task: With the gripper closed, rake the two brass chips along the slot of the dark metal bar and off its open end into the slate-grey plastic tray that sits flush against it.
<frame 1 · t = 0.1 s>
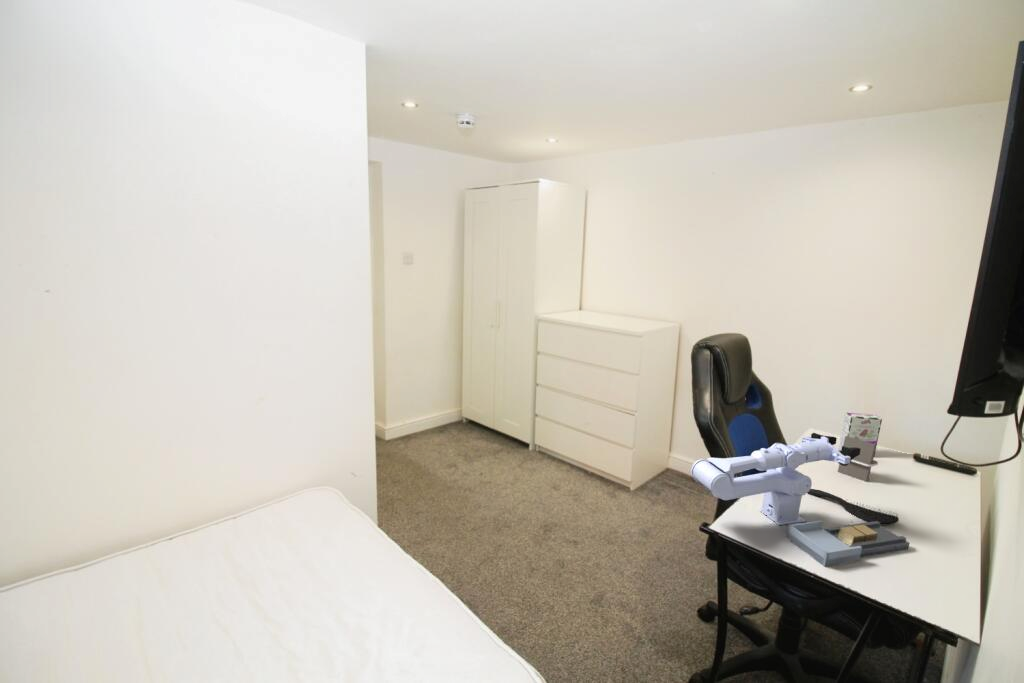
hand: (846, 445, 138), 22 cm above the table, tool horizontal, fingers open, 7 cm apart
hairbrush: (846, 509, 144), on the table
brass chip 2: (863, 535, 126), point 2 cm above the table, touching slotted bar
candy bar box: (855, 453, 185), on the table
brass chip 1: (850, 537, 125), point 2 cm above the table, touching slotted bar
slotted bar: (864, 542, 127), on the table
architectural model: (852, 476, 166), on the table
tray: (821, 548, 123), on the table
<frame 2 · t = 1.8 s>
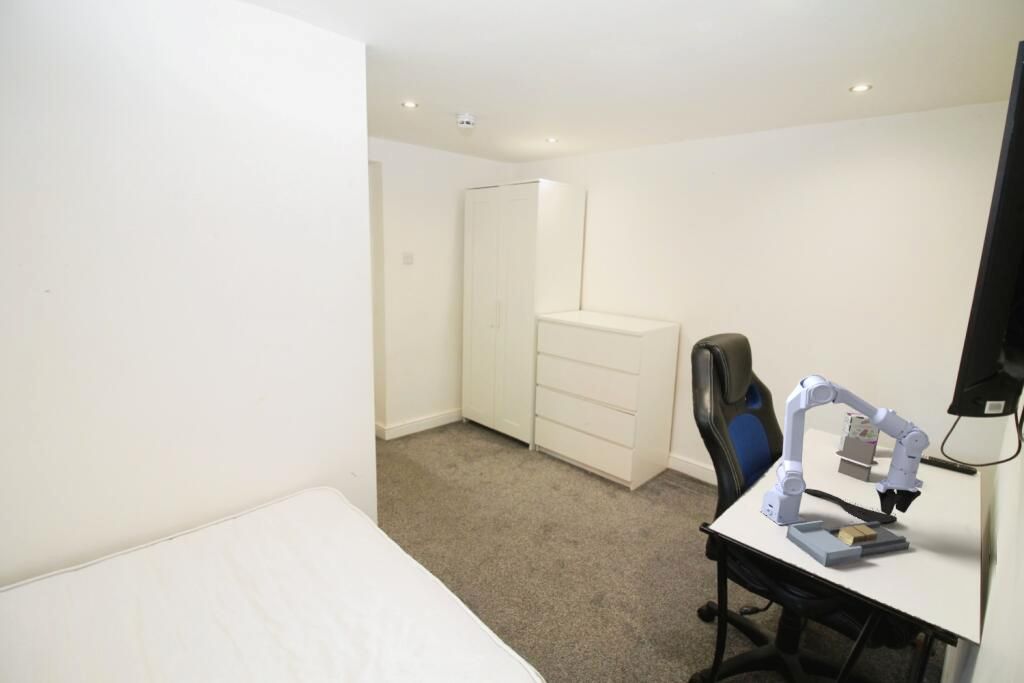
hand: (892, 511, 127), 8 cm above the table, tool pointing down, fingers open, 5 cm apart
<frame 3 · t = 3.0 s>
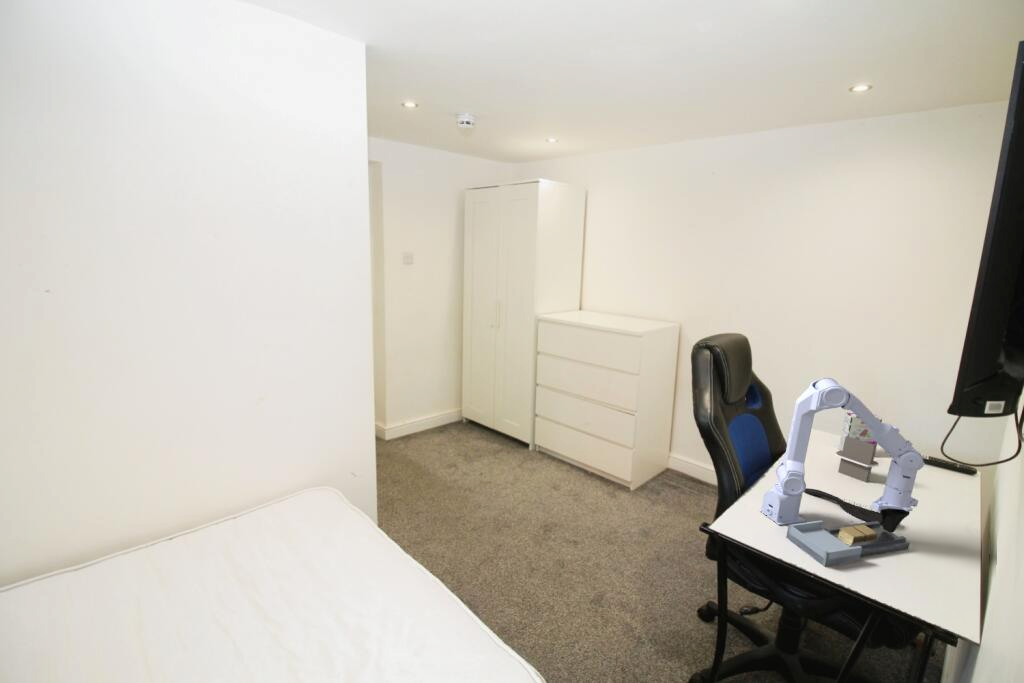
hand: (888, 530, 129), 3 cm above the table, tool pointing down, fingers closed
nothing on the table moved.
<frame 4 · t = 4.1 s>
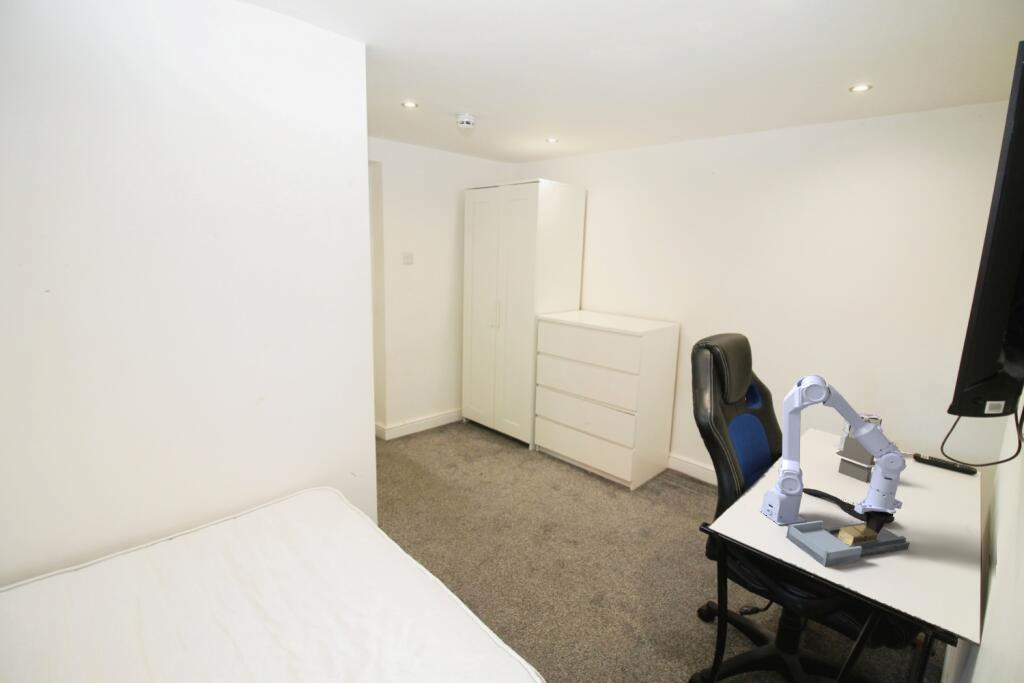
hand: (872, 532, 127), 3 cm above the table, tool pointing down, fingers closed
brass chip 2: (863, 535, 126), point 2 cm above the table, touching gripper, slotted bar
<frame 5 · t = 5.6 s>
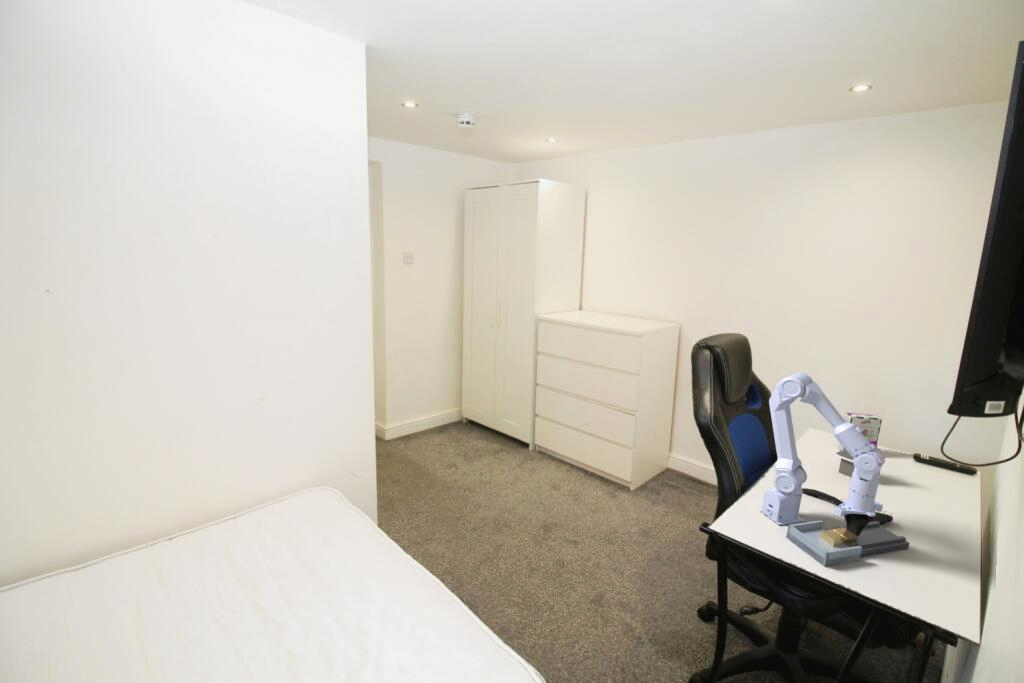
hand: (852, 535, 125), 3 cm above the table, tool pointing down, fingers closed
brass chip 2: (843, 539, 125), point 2 cm above the table, touching brass chip 1, gripper
brass chip 1: (832, 541, 124), point 2 cm above the table, touching brass chip 2
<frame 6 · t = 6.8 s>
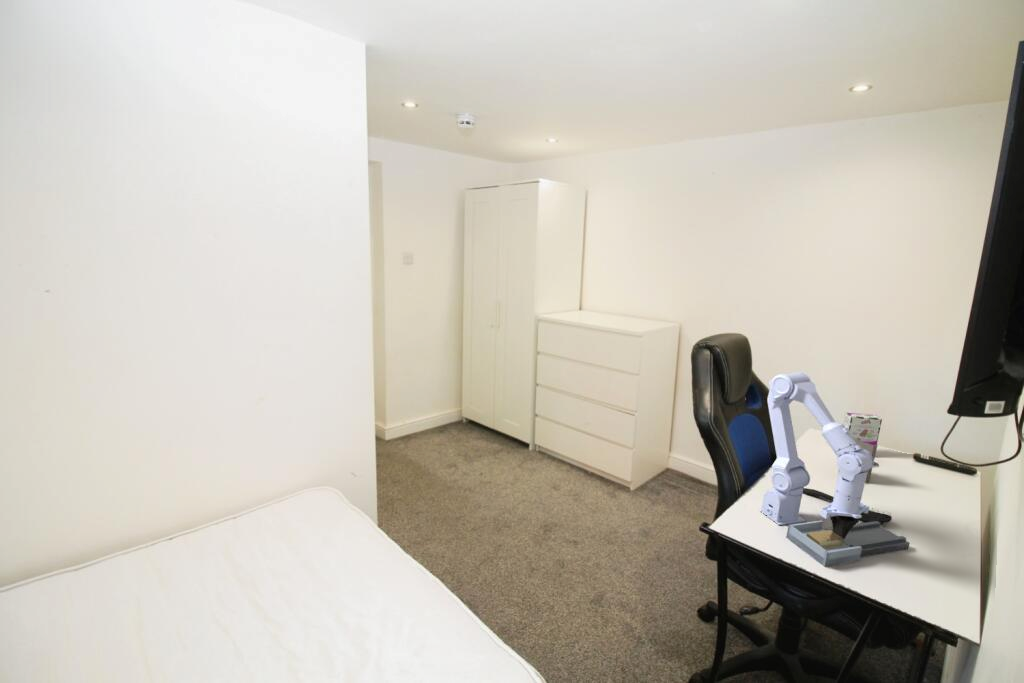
hand: (838, 537, 124), 3 cm above the table, tool pointing down, fingers closed
brass chip 2: (829, 541, 123), point 2 cm above the table, touching brass chip 1, gripper
brass chip 1: (817, 543, 122), point 2 cm above the table, touching brass chip 2, tray
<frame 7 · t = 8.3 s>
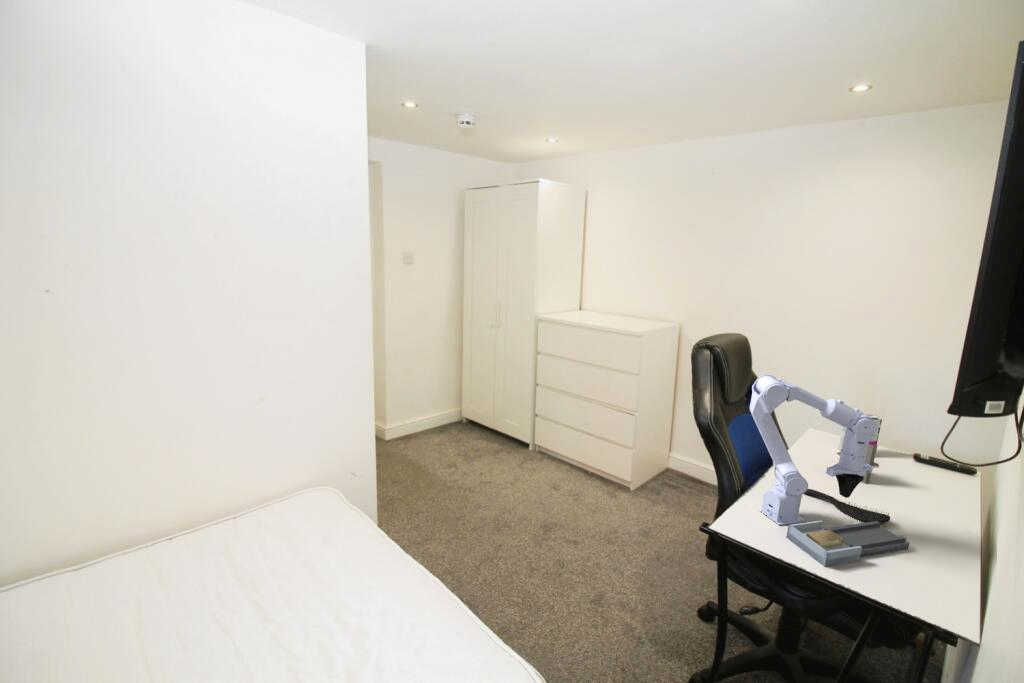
hand: (844, 495, 133), 9 cm above the table, tool pointing down, fingers closed
brass chip 2: (829, 541, 123), point 2 cm above the table, touching tray
brass chip 1: (817, 543, 122), point 2 cm above the table, touching tray
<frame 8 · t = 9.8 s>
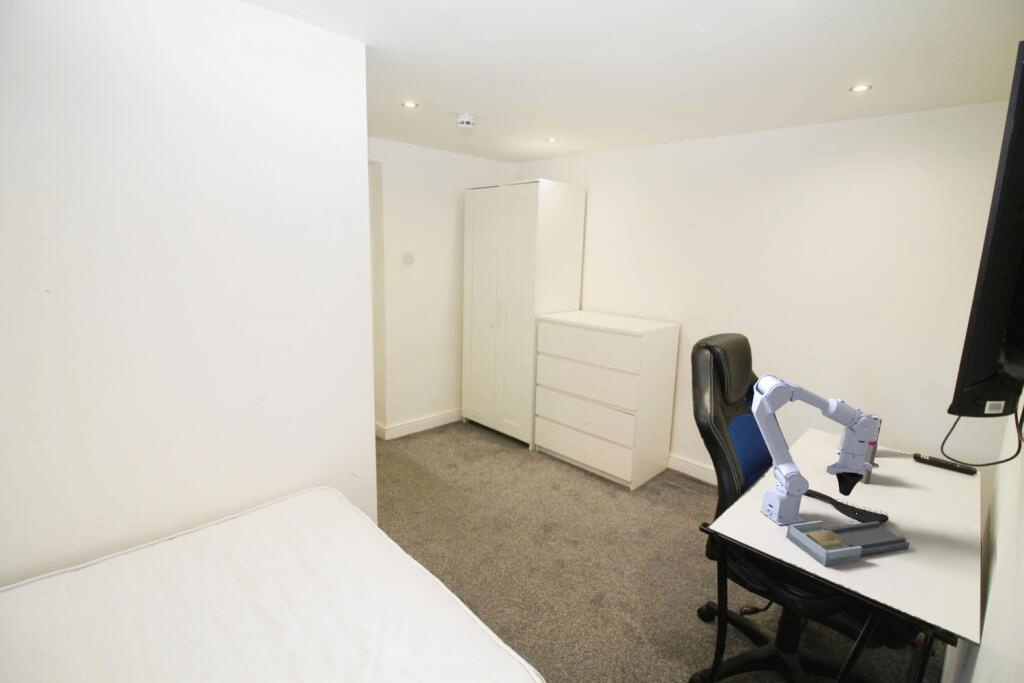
hand: (844, 494, 134), 9 cm above the table, tool pointing down, fingers closed
at the end: brass chip 1 inside the target area on the tray (1.9 cm from its centre), point 1.9 cm above the tray's base; brass chip 2 inside the target area on the tray (2.1 cm from its centre), point 1.9 cm above the tray's base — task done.
